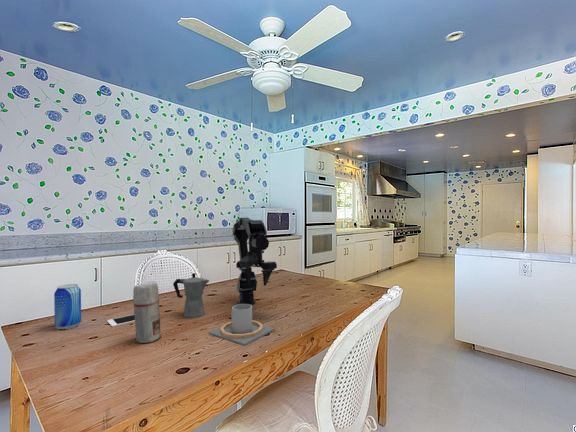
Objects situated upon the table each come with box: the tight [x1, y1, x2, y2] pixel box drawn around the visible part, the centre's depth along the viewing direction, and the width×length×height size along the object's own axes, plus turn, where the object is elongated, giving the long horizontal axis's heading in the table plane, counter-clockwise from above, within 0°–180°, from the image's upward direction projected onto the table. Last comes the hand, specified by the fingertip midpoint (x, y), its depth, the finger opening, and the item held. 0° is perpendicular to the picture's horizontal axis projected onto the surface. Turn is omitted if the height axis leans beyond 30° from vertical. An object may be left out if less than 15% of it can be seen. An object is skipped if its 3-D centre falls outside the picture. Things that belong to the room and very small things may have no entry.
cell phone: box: [106, 313, 135, 328], centre depth 126 cm, size 9×18×1 cm, turn 132°
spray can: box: [132, 280, 162, 344], centre depth 105 cm, size 8×8×20 cm
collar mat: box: [208, 319, 276, 347], centre depth 110 cm, size 18×16×2 cm
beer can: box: [53, 283, 82, 330], centre depth 118 cm, size 8×8×16 cm
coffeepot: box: [172, 272, 210, 319], centre depth 130 cm, size 15×9×18 cm, turn 92°
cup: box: [230, 304, 253, 334], centre depth 110 cm, size 7×10×9 cm
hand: (256, 284), depth 130 cm, fingers open, 9 cm apart
